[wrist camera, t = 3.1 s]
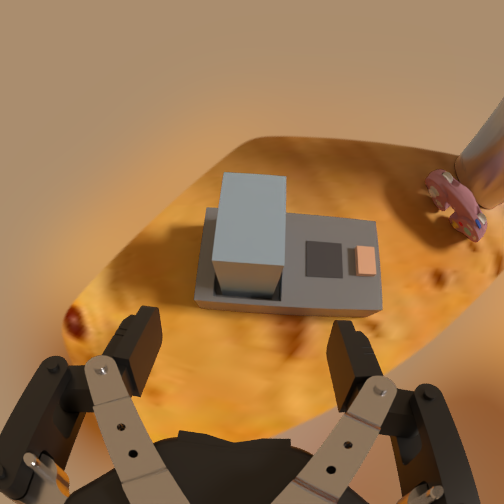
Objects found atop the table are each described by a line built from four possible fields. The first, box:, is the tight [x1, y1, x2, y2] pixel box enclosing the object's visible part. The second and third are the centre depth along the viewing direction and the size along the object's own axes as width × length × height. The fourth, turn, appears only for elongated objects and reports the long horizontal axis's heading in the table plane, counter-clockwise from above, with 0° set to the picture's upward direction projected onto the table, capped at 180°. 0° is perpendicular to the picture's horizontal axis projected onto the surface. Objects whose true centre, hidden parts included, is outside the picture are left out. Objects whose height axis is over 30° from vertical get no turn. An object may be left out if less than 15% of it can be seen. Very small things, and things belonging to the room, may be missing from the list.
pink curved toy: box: [425, 169, 487, 242], centre depth 27 cm, size 10×5×7 cm, turn 36°
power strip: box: [194, 207, 382, 317], centre depth 25 cm, size 15×8×4 cm, turn 86°
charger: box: [212, 172, 286, 299], centre depth 21 cm, size 4×6×8 cm, turn 176°
